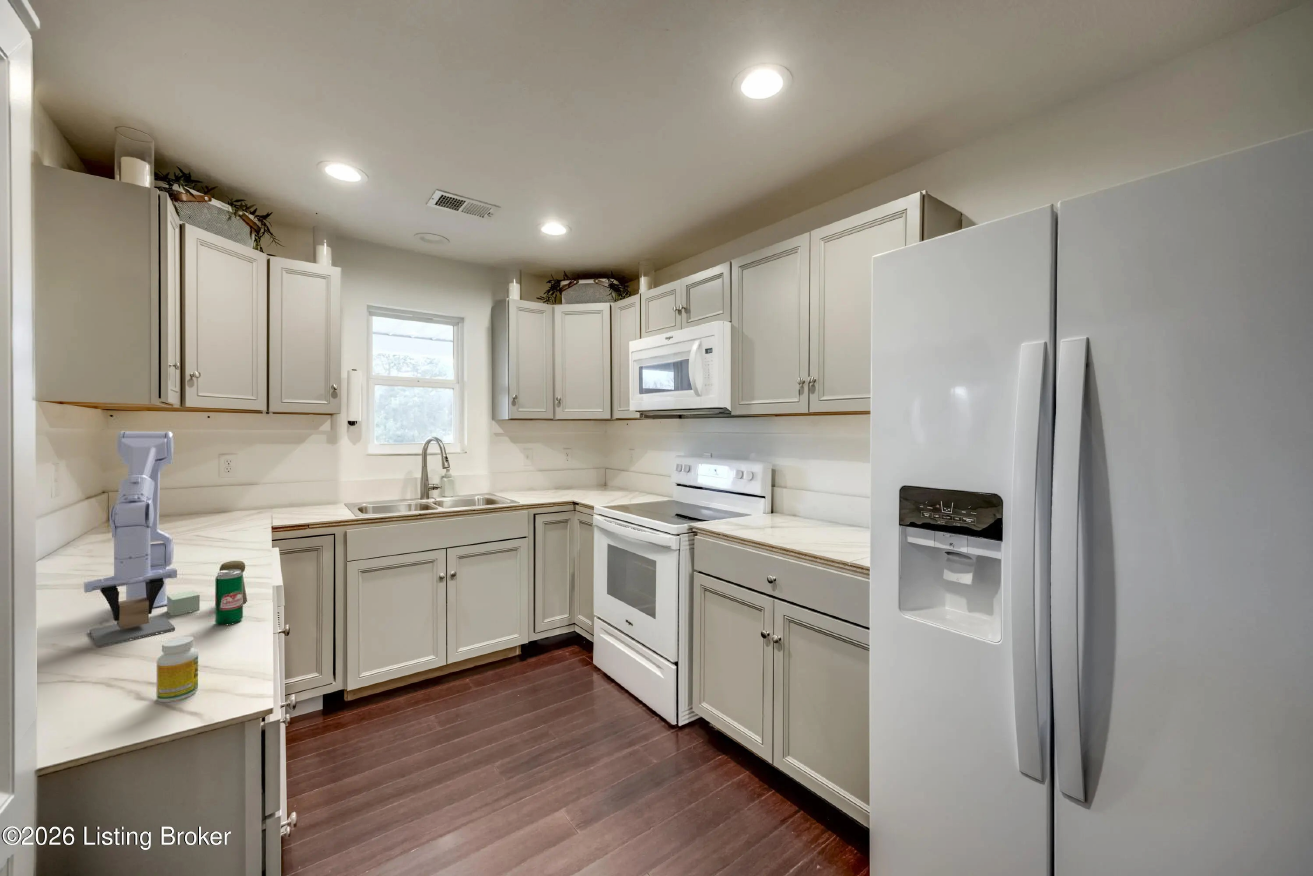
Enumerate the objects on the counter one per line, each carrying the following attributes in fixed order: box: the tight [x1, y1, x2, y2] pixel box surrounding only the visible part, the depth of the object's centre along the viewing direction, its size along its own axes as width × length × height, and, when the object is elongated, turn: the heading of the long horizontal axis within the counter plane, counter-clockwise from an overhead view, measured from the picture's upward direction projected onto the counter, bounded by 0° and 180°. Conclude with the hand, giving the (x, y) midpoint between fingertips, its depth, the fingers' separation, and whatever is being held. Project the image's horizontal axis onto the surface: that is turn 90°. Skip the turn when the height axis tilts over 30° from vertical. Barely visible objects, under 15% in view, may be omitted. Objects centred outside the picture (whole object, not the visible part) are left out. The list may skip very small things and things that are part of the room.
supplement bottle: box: [155, 636, 199, 703], centre depth 91 cm, size 5×5×10 cm
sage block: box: [166, 590, 201, 616], centre depth 129 cm, size 5×5×4 cm
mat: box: [89, 614, 176, 648], centre depth 116 cm, size 12×12×1 cm
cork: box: [218, 560, 248, 605], centre depth 134 cm, size 6×6×11 cm
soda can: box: [214, 569, 244, 626], centre depth 123 cm, size 5×5×12 cm
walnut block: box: [116, 597, 150, 629], centre depth 116 cm, size 4×4×5 cm
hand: (132, 616), depth 116 cm, fingers closed on walnut block, 4 cm apart
